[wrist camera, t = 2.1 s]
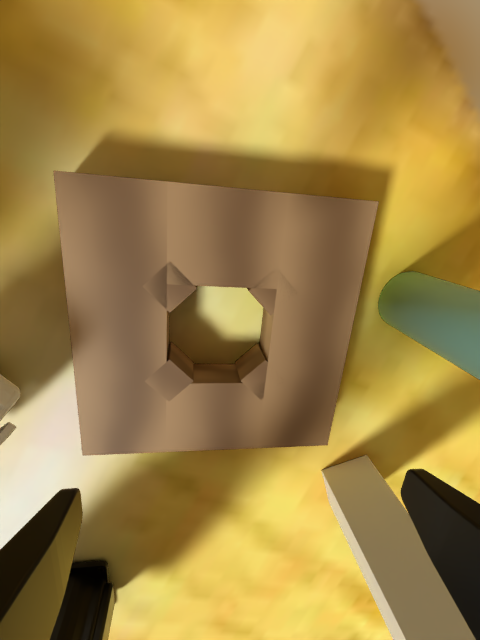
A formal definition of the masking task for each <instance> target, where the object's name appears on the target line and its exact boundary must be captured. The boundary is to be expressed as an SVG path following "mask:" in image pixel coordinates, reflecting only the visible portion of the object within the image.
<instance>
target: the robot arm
mask: <svg viewBox="0 0 480 640" xmlns="http://www.w3.org/2000/svg"><path fill="white" fill-rule="evenodd" d="M401 497H402V500H403V502H404V505H405V507H406V509H407V511H408V513H409V515H410V517H411V520H412V522H413V524H414V526H415V528H416V530H417V533H418V535H419V537H420V539H421V541H422V543H423V546H424V548H425V550H426V552H427V554H428V556H429V558H430V559H431V561H432V563H433V565H434V567H435V569H436V570H437V572H438V574H439V576H440V577H441V579H442V581H443V583H444V585H445V586H446V588H447V590H448V592H449V593H450V595H451V597H452V599H453V601H454V602H455V604H456V606H457V608H458V609H459V611H460V613H461V615H462V616H463V618H464V620H465V622H466V624H467V625H468V627H469V629H470V631H471V632H472V634H473V636H474V638H475V639H476V640H480V504H479V503H477V502H476V501H474V500H473V499H471V498H469V497H468V496H466V495H464V494H463V493H461V492H460V491H458V490H456V489H455V488H453V487H451V486H450V485H448V484H447V483H445V482H443V481H442V480H440V479H438V478H437V477H435V476H434V475H432V474H430V473H429V472H427V471H425V470H423V469H410V470H408V471H407V473H406V476H405V479H404V482H403V485H402V488H401ZM82 515H83V512H82V503H81V494H80V490H79V489H78V488H71V489H62V490H60V491H59V492H58V493H57V494H56V495H55V496H54V497H53V498H52V499H51V500H50V501H49V502H48V503H47V504H46V505H45V506H44V507H43V508H42V509H41V510H40V511H39V512H38V513H37V514H36V515H35V516H34V517H33V518H32V519H31V520H30V521H29V522H28V523H27V524H26V525H25V526H24V527H23V528H22V529H21V530H20V531H19V532H18V533H17V534H16V535H15V536H14V537H13V538H12V539H11V540H10V541H9V542H8V543H7V544H6V545H5V546H4V547H3V548H2V549H1V550H0V640H108V637H109V631H110V626H111V620H112V615H113V610H114V604H115V601H114V587H113V584H112V582H109V572H108V563H107V562H106V561H102V560H101V561H90V562H80V563H72V561H73V557H74V553H75V548H76V544H77V540H78V536H79V531H80V527H81V523H82Z"/></svg>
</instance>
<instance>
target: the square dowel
mask: <svg viewBox="0 0 480 640" xmlns="http://www.w3.org/2000/svg"><path fill="white" fill-rule="evenodd" d="M322 474H323V478H324V482H325V487H326V491H327V495H328V500H329V503H330V506H331V508H332V510H333V512H334V514H335V516H336V518H337V521H338V523H339V525H340V527H341V529H342V531H343V533H344V536H345V538H346V540H347V542H348V544H349V546H350V548H351V550H352V553H353V555H354V557H355V559H356V561H357V563H358V565H359V568H360V570H361V572H362V574H363V576H364V578H365V580H366V583H367V585H368V587H369V589H370V591H371V593H372V595H373V597H374V600H375V602H376V604H377V606H378V608H379V610H380V612H381V615H382V617H383V619H384V621H385V623H386V625H387V627H388V630H389V632H390V634H391V636H392V638H393V640H476V639H475V638H474V636H473V634H472V632H471V631H470V629H469V627H468V625H467V624H466V622H465V620H464V618H463V616H462V615H461V613H460V611H459V609H458V608H457V606H456V604H455V602H454V601H453V599H452V597H451V595H450V593H449V592H448V590H447V588H446V586H445V585H444V583H443V581H442V579H441V577H440V576H439V574H438V572H437V570H436V569H435V567H434V565H433V563H432V561H431V559H430V558H429V556H428V554H427V552H426V550H425V548H424V546H423V543H422V541H421V539H420V537H419V535H418V533H417V530H416V528H415V526H414V524H413V522H412V520H411V517H410V515H409V514H408V512H407V511H406V510H405V508H404V507H403V505H402V504H401V502H400V501H399V500H398V498H397V497H396V495H395V494H394V493H393V491H392V490H391V488H390V487H389V485H388V484H387V483H386V481H385V480H384V478H383V477H382V476H381V474H380V473H379V471H378V470H377V468H376V467H375V466H374V464H373V463H372V461H371V460H370V459H369V457H368V456H367V455H365V456H362V457H359V458H356V459H353V460H350V461H347V462H344V463H341V464H338V465H335V466H332V467H329V468H326V469H323V470H322Z"/></svg>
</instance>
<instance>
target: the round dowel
mask: <svg viewBox="0 0 480 640" xmlns="http://www.w3.org/2000/svg"><path fill="white" fill-rule="evenodd" d="M378 309H379V313H380V316H381V318H382V319H383V320H384V321H385V322H386V323H387V324H389V325H391V326H392V327H394V328H396V329H397V330H399V331H400V332H402V333H404V334H405V335H407V336H409V337H410V338H412V339H414V340H415V341H417V342H418V343H420V344H422V345H423V346H425V347H427V348H428V349H430V350H432V351H433V352H435V353H436V354H438V355H440V356H441V357H443V358H445V359H446V360H448V361H450V362H451V363H453V364H454V365H456V366H458V367H459V368H461V369H463V370H464V371H466V372H468V373H469V374H471V375H472V376H474V377H476V378H477V379H479V380H480V291H478V290H474V289H471V288H468V287H465V286H461V285H458V284H455V283H451V282H448V281H445V280H442V279H438V278H435V277H432V276H429V275H425V274H422V273H419V272H414V271H408V272H404V273H401V274H398V275H397V276H395V277H394V278H392V279H391V280H390V281H389V282H388V283H387V284H386V285H385V287H384V288H383V290H382V292H381V294H380V297H379V302H378Z"/></svg>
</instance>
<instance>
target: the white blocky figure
mask: <svg viewBox="0 0 480 640" xmlns="http://www.w3.org/2000/svg"><path fill="white" fill-rule="evenodd" d="M19 398H20V389H19V388H18V387H17V386H16V385H14V384H13V383H12V382H10V381H9V380H8V379H6V378H5V377H4V376H2V375H1V374H0V421H1V420H2V418H3V417H4V416H5V415H6V414H7V412H8V411H9V410H10V409H11V408H12V407H13V405H14V404H15V403H16V402H17V400H18V399H19ZM15 428H16V426H15V425H13V424H12V423H10V422H8V423H6V424H5V425H4V426H3V427H1V428H0V445H1V444H2V443H3V442H4V441H5V440H6V439H7V438H8V437H9V435H10V434H11V433H12V432H13V431H14V430H15Z"/></svg>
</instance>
